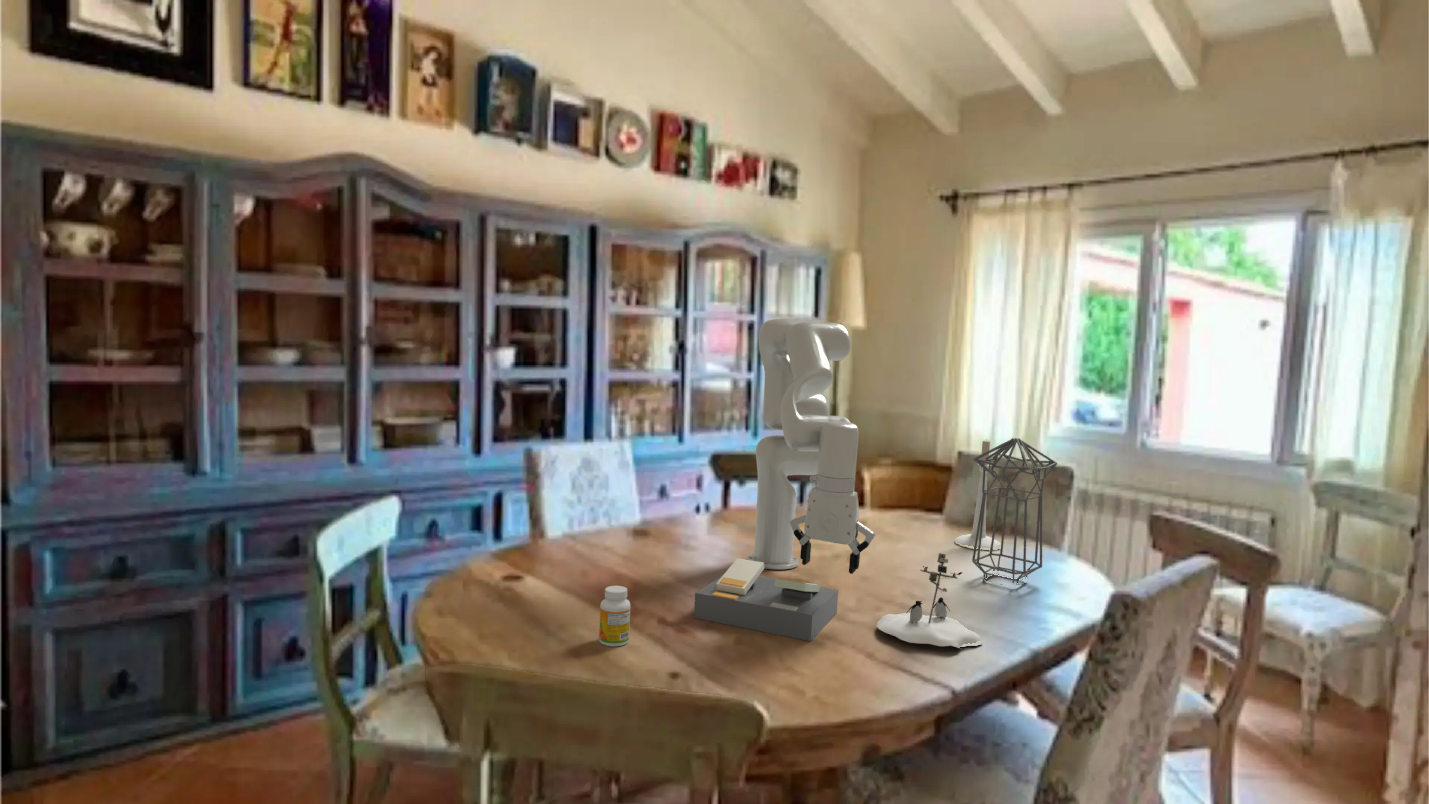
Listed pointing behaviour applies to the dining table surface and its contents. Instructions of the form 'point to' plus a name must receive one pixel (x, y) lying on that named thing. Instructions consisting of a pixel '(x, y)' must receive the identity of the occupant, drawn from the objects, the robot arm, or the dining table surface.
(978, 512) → the candlestick
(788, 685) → the dining table surface
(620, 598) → the supplement bottle
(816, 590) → the sage rocker
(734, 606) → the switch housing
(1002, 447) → the geometric lantern
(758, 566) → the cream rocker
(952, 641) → the figurine
